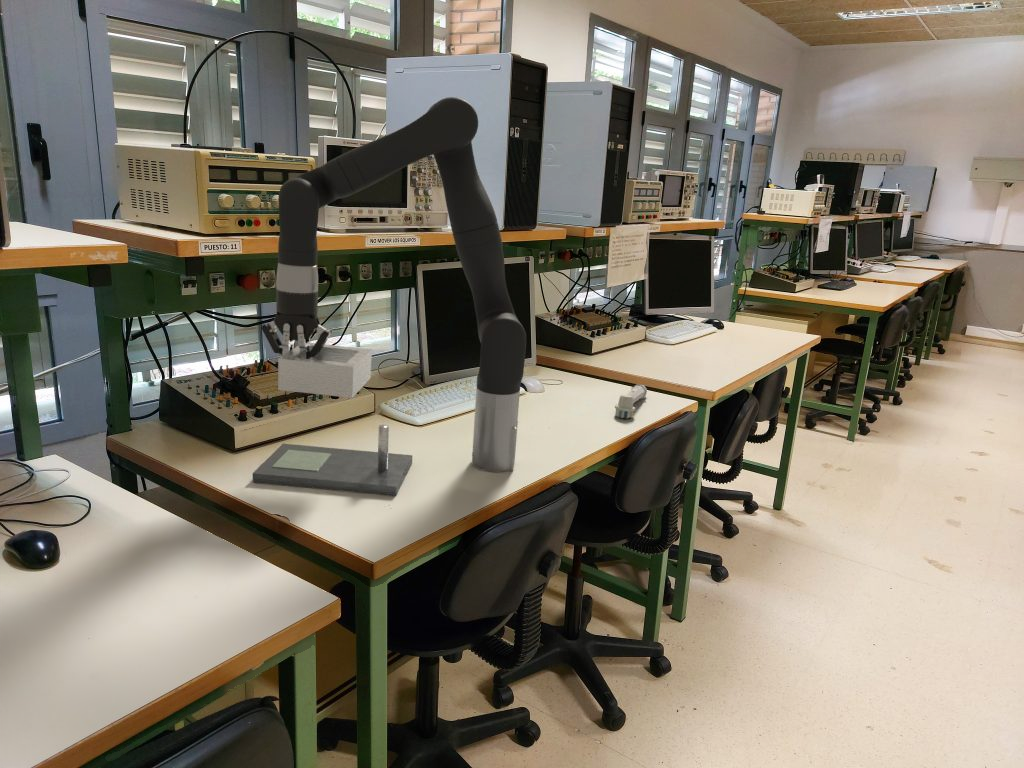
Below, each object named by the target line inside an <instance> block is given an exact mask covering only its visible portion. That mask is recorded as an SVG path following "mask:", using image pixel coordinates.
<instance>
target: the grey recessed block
mask: <svg viewBox="0 0 1024 768" xmlns="http://www.w3.org/2000/svg"><path fill="white" fill-rule="evenodd" d="M315 343H316V342H313V343H312V342H311V343H310V350H312V348H313V347H314V345H315ZM372 356H373V349H371V348H370V349H369V348H359V347H351V346H342V345H334V344H333V345H332V344H326V343H325V344H324V346H323V348H322V349H321V351H320V352H319V354H317V355H316V356H315V357H310V359H304V358H301V357H300V348H299V345H297V346H296V347H295V346H294V347H293V349H292V350H291V351H289V352H288V353H286V354H285V355H283V356H282V355H281V356H280V357H278V359H277V360H278V361H277V363H278V364H277V369H278V370H277V373H278V375H277V377H278V378H277V386H278V387H277V390H278V391H287V392H295V393H304V394H313V395H322V396H332V397H342V398H351V399H353V398H354V396H355V395H356V394H358V393H359V391H360V390H361V389H362V388H363V387H364V386H365V385H366V384H367V383H368V382H369V380H370V379H372V377H371V376H372Z"/></svg>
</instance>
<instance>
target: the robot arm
mask: <svg viewBox="0 0 1024 768" xmlns="http://www.w3.org/2000/svg"><path fill="white" fill-rule="evenodd" d="M478 128H479V117H478V113H477V111H476V110H475V108H474V106H473V105H472V104H471V103H470V102H468V101H467V100H465V99H464V98H460V97H457V96H456V97H453V96H450V97H445V98H442V99H439V100H438V101H437V102H436V103H434V104H432V105H431V106H430V108H429V109H428V110H427V112H425V113H424V114H423V115H421V116H420V117H418V118H417V119H415V120H414V121H412V122H411V123H409V124H407V125H406V126H403V127H401V128H400V129H397V130H395V131H393V132H391V133H389V134H387V135H384V136H382V137H379V138H377V139H375V140H372V141H370V142H367V143H364V144H362V145H360V146H357V147H355V148H353V149H350V150H349V151H346V152H344V153H343V154H341V155H338V156H336V157H335V158H333V159H330V160H329V161H327V162H326V163H324V164H323V165H321V166H319V167H316V168H314V169H313V168H312V169H311V170H308V171H306V172H303V173H301V174H299V175H297V176H294V177H292V178H290V179H288V180H286V181H285V182H284V183H282V185H281V187H280V189H279V191H278V221H279V222H278V223H279V237H278V245H277V246H278V249H277V251H278V252H277V260H278V261H277V262H278V263H277V270H276V281H275V287H276V299H275V301H276V302H275V303H276V304H275V305H276V306H275V307H276V309H275V310H276V314H275V316H274V319H273V320H272V321H270V322H265V323H264V324H262V325H261V330H262V332H263V334H264V336H265V338H266V340H267V342H268V343H269V346H270V348H271V350H272V352H273V353H275V354H279V355H281V357H282V356H283V355H285V354H286V353H288V352H289V351H291V350H292V349H294V345H295V343H296V341H297V342H298V345H297V346H299V348H300V357H301V358H304V359H310V357H315V356H316V355H317V354H319V352H320V351H321V349H322V348H323V346H324V344H325V345H326V342H328V339H329V338H330V337H331V335H332V333H333V332H332V329H330V328H325V327H324V326H322V325H321V323H320V320H319V318H318V311H319V310H318V307H319V305H318V303H319V302H318V301H319V299H318V298H319V296H318V295H319V273H318V272H319V271H318V238H317V235H318V226H319V225H318V224H319V223H318V222H319V210H320V209H321V208H323V207H325V206H327V205H329V204H331V203H332V202H335V201H336V200H338V199H339V200H340V199H344V198H347V197H350V196H352V195H355V194H357V193H359V192H361V191H362V190H365V189H367V188H369V187H371V186H373V185H375V184H376V183H378V182H380V181H382V180H384V179H386V178H388V177H389V176H391V175H393V174H394V173H397V172H398V171H400V170H402V169H404V168H406V167H407V166H409V165H411V164H414V163H416V162H418V161H420V160H422V159H424V158H427V157H430V156H433V158H434V160H435V163H436V166H437V169H438V171H439V174H440V178H441V183H442V187H443V194H444V199H445V204H446V208H447V209H446V211H447V214H448V218H449V219H448V220H449V223H450V228H451V232H452V236H453V237H452V238H453V241H454V244H455V248H456V252H457V255H458V259H459V261H460V264H461V267H462V270H463V273H464V275H465V278H466V280H467V282H468V285H469V288H470V290H471V295H472V298H473V304H474V310H475V316H476V325H477V333H478V338H479V341H480V356H479V368H478V374H477V376H476V387H475V388H476V390H475V391H476V392H475V403H474V422H473V423H474V425H473V438H472V452H471V457H472V458H471V464H472V466H474V468H476V469H479V470H481V471H486V472H492V473H493V472H495V473H499V472H506V471H514V469H515V468H514V467H515V460H516V450H517V449H516V446H517V437H518V436H517V435H518V434H517V433H518V423H519V421H518V420H519V408H520V395H521V394H520V393H521V385H522V380H523V377H524V370H525V362H526V351H527V333H526V329H525V328H524V326H523V325H522V323H521V322H520V321H519V319H518V317H517V315H516V313H515V310H514V307H513V303H512V302H511V298H510V295H509V291H508V287H507V282H506V272H505V271H506V270H505V269H506V268H505V256H504V255H505V254H504V247H503V240H502V235H501V231H500V227H499V223H498V218H497V216H496V215H497V214H496V213H495V212H496V211H495V210H494V207H493V204H492V201H491V200H490V197H489V195H488V192H487V190H486V189H485V185H484V184H483V182H482V180H481V178H480V175H479V172H478V169H477V166H476V161H475V155H474V151H473V144H472V141H473V140H474V138H475V137H476V134H477V132H478ZM277 330H278V331H279V332H280V334H281V335H282V340H281V339H280V337H279V335H278V333H277ZM316 331H317V334H316V338H318V339H317V340H316V342H314V343H315V345H314V347H313V348H312V350H310V343H312V342H311V337H312V336H313V335H314V333H316Z"/></svg>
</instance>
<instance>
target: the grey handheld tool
mask: <svg viewBox="0 0 1024 768" xmlns="http://www.w3.org/2000/svg"><path fill="white" fill-rule="evenodd" d="M647 391H648V388H647V387H646V386H645V385H644V384H635V385H634V386H632V387H631V390H629V391H628V392H627V393H626V394H621V395H619V396H620V397H619V400H618V402H617V404H616V405H614V408H615V416H616V417H617V418H621V419H629V418H630V419H633V416H634V412H635V411H636V407H635V406H634V403H636V402H637V401H639V399H641V400H642V399H644V398H645V397H646V395H647V394H648V393H647Z"/></svg>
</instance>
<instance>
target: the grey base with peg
mask: <svg viewBox="0 0 1024 768" xmlns="http://www.w3.org/2000/svg"><path fill="white" fill-rule="evenodd" d="M389 431H390V426H389V425H388V424H379V425H378V436H377V437H378V440H377V441H378V442H377V443H378V445H377V448H378V449H377V451H368V450H357V449H349V448H347V449H346V448H336V447H328V446H327V447H325V446H315V445H314V446H313V445H304V444H292V443H282V444H281V445H280V446H279V447H278V448H277V449H276V450H275V451H274V452H273V453H272V454H271V455H270V456H268V458H266V459H265V461H263V462H262V463H261V464H260V465H259V466H258V467H257V468H256V469H255V470H254V471H253V472H252V483H253V484H261V485H270V486H271V485H272V486H283V487H294V488H304V489H305V488H307V489H313V490H314V489H315V490H326V491H337V492H348V493H357V494H370V495H378V496H379V495H381V496H389V497H397V495H398V493H399V491H400V490H401V487H402V485H403V483H404V482H405V479H406V477H407V475H408V473H409V471H410V470H411V467H412V465H413V454H401V453H389V436H390V435H389V433H390V432H389Z"/></svg>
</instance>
